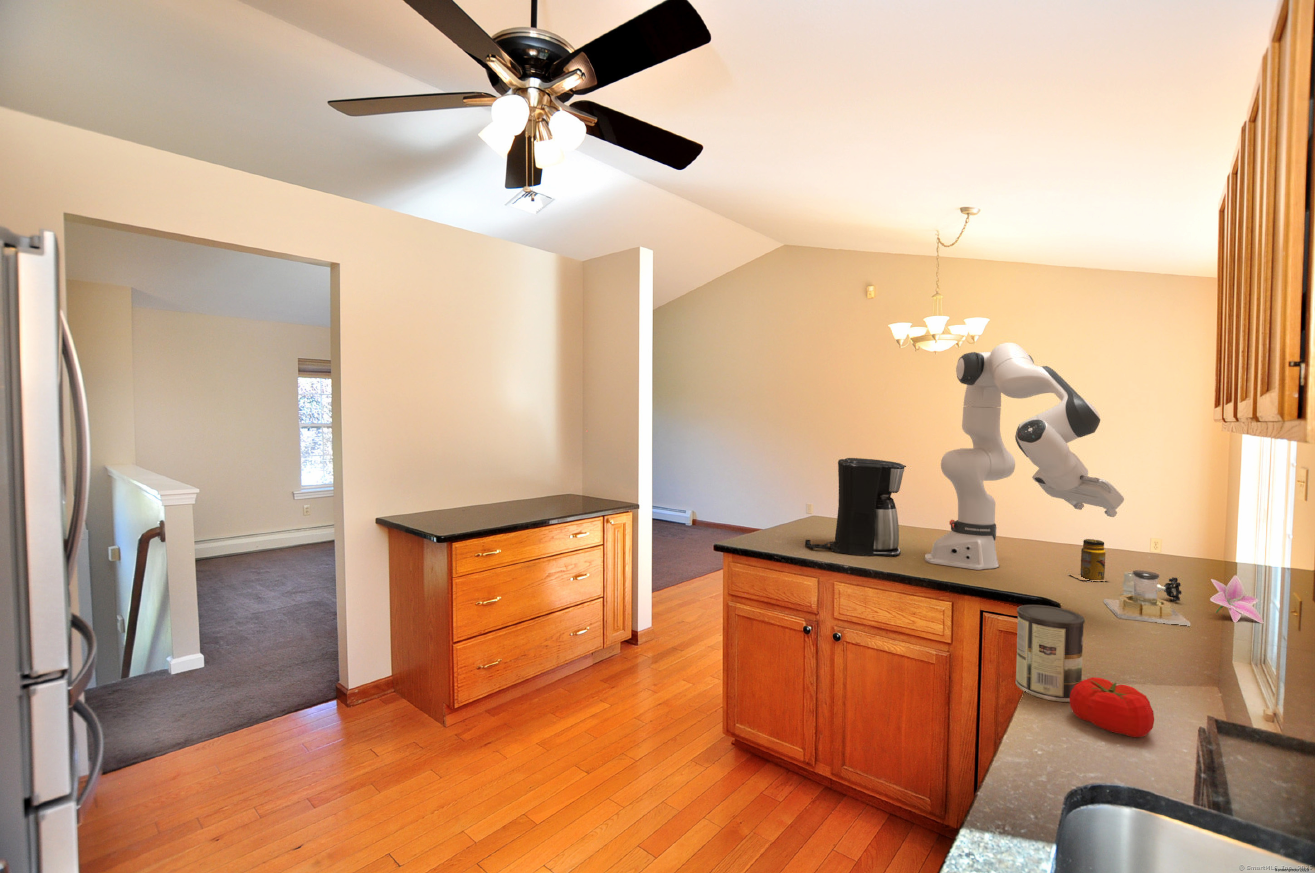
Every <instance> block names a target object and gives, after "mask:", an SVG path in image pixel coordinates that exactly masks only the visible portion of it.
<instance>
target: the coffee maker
mask: <svg viewBox="0 0 1315 873" xmlns="http://www.w3.org/2000/svg"><path fill="white" fill-rule="evenodd" d="M906 467H907V465H904V464H903V463H900V462H897V461H896V462H895V461H890V460H883V459H872V458H862V457H846V458H841V459H838V462H837V468H838V469H837V470H838V471H837V472H838V474H837V476H838V500H837V501H838V502H837V503H838V508H837V517H836V525H835V526H836V528H835V533H834V534H835V536H834V540H833V541H829V542H825V543H824V544H820V543H811V539H805V541H804V546H805V547H808V548H811V549H824V550H831V551H832V552H834V553H839V554H841V553H842V554H845V555H846V554H847V555H851V556H852V555H853V556H864V557H872V556H873V557H874V556H875V557H876V556H878V557H880V556H881V557H897V556H899V554H901V548H899V546H900V544H899V543H900V542H899V541H900V529H899V527H900V526H899V525H900V524H899V517H898V510H897V507H896V503H895V501H894V498H893V497H891V496H892V495H893V494H897V493H898V492H900V490H901V485H902V480H903V477H904V472H905V468H906Z"/></svg>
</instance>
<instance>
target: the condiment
mask: <svg viewBox="0 0 1315 873" xmlns="http://www.w3.org/2000/svg"><path fill="white" fill-rule="evenodd" d="M1082 542H1083V545H1082V548H1080V549H1081V553H1080V554H1081V556H1080V574H1079V575H1081V577H1083V578H1085V579H1089V580H1104V579H1105V572H1106V570H1105V569H1106V568H1105V567H1106V550H1105V542H1104V541H1102V540H1099V539H1094V538H1093V539H1092V538H1085V539H1083V540H1082ZM1071 574H1072V573H1071ZM1071 574H1067V575H1068V576H1069V575H1071Z"/></svg>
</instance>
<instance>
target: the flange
mask: <svg viewBox="0 0 1315 873" xmlns="http://www.w3.org/2000/svg"><path fill="white" fill-rule="evenodd" d="M1118 598H1119V599H1110V598H1103V603H1104V604H1105V605H1106V606H1107V607H1108V608H1109V610H1110V611H1111V612H1112V613H1113V614H1114V615H1115V617H1117V618H1118V619H1124V620H1130V621H1131V620H1132V621H1141V622H1149V623H1155V622H1157V623H1156V624H1163V623H1165V624H1164V625H1171V624H1179V625H1178V626H1180V625H1187V626H1186V627H1188V626H1190V627H1191V622H1190V621H1189V620H1188V619H1187V618H1185V617H1184V616H1183V615H1182V614H1180V613H1179V612H1178V611H1177V610H1175V609H1174V608H1173V607H1172V605H1173V604H1171V603H1170V602H1168V601H1166V600H1165V599H1164V600H1163V599H1160V598H1157V605H1148V604H1141V603H1137V602H1133V601H1132V598H1133V595H1129V594H1128V595H1123V594H1122V595H1119V597H1118Z"/></svg>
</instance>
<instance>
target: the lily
mask: <svg viewBox="0 0 1315 873" xmlns="http://www.w3.org/2000/svg"><path fill="white" fill-rule="evenodd" d="M1210 581H1211V582H1212V584H1213V585H1214V587H1215V589H1216V590H1217V591H1218V592H1217V593H1215V594H1214V595H1213V596H1211V597H1210V598H1209V600H1210V602H1213V603H1215V604H1217V605H1220V606H1219V608H1218V609H1217V610H1216V611H1215V613H1216V614H1217V613H1218V612H1219V611H1220V610H1221V609H1222V608H1223V607H1225V608H1227V609H1228V612H1229V615H1230V617H1231V619H1232V621H1233V623H1237V622H1238V621H1239V620H1240V618H1241V617H1242V615H1245V616H1246V617H1248V618H1250V619H1252V620H1255V621H1256V622H1258V623H1260V624H1264V620H1263V617H1262V616H1261V615H1260V613H1259V612H1258V610H1257V609H1256V608H1255V607H1254V606H1253V605H1254V604H1256V603H1257V602H1258V601H1259V599H1258V597H1255V596H1253V595H1250V594H1247V593H1245V588H1244V585H1243V583H1242V581H1241V580H1240V577H1238V575H1233V577H1232V578H1231V579H1230V581H1229V582H1228V584H1227V585H1225V584H1224V583H1222V582H1220V581H1218V580H1216V579H1212V578H1210Z"/></svg>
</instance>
